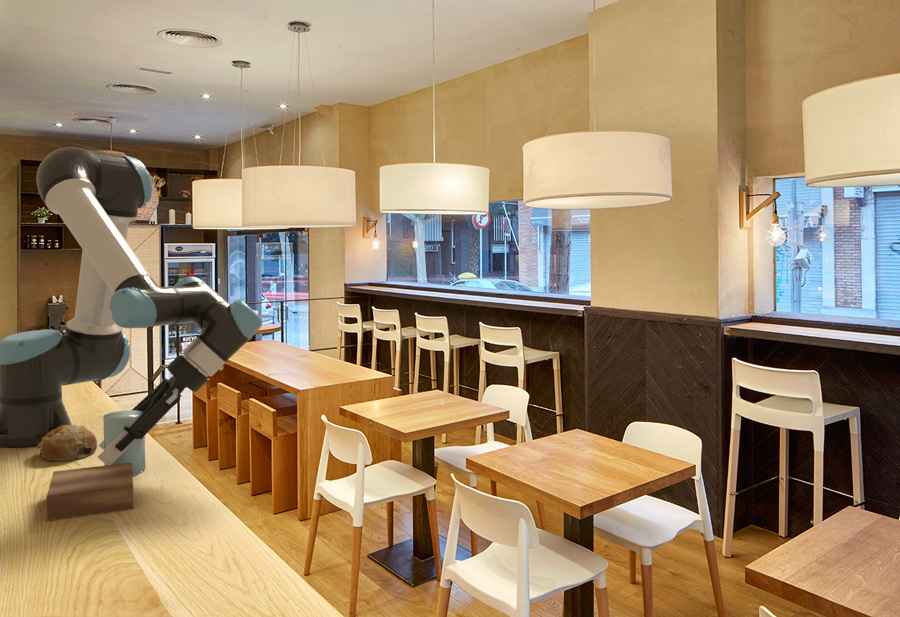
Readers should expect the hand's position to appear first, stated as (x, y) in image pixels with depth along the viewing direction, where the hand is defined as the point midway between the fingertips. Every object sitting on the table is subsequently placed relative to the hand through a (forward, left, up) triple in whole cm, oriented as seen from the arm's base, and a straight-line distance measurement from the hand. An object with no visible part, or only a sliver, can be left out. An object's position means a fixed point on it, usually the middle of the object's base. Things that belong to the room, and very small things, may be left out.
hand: (104, 455), depth 119 cm
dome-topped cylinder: (0, +4, -3) cm, 5 cm away
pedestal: (+14, -1, -3) cm, 15 cm away
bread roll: (-15, -7, -4) cm, 17 cm away
